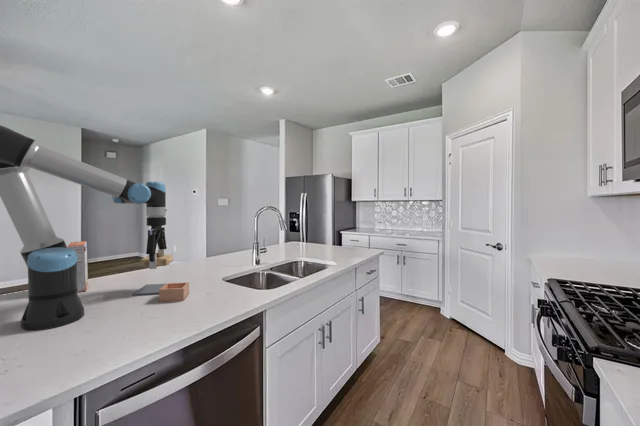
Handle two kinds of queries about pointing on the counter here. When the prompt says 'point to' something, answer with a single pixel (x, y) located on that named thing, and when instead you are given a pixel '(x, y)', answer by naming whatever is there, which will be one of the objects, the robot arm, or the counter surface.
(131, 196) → the robot arm
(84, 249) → the cracker box
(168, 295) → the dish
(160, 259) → the lid
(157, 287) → the plate
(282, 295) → the counter surface
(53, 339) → the counter surface
